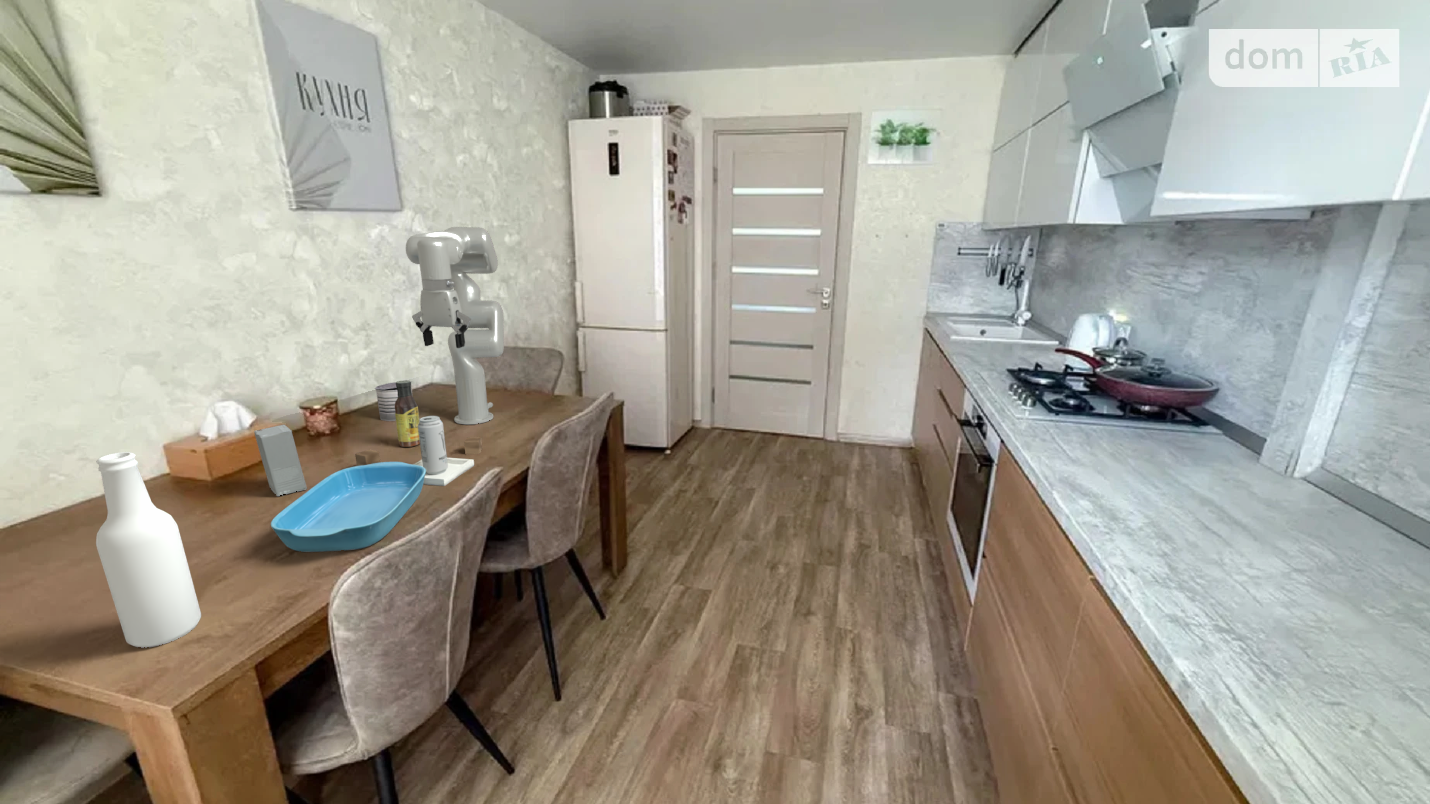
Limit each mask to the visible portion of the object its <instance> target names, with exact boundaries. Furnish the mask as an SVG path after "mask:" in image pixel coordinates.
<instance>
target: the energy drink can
mask: <svg viewBox="0 0 1430 804" xmlns="http://www.w3.org/2000/svg"><path fill="white" fill-rule="evenodd" d="M440 418H441V417H440V416H438V415H428V416H423V417H421V418H420V417H419V424H418V433H419V441H420V444H419V447H420V454H421V460H422V463H423V467H424V468H425V469H426V474H428V475H437V474H441V473H444V472H445V471H446V469H447V468H448V462H447V458H448V455H447V447H446V438H445V431H444V429H445V428H444V423H443V421H442V420H441V419H440Z"/></svg>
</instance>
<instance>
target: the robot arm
mask: <svg viewBox="0 0 1430 804" xmlns="http://www.w3.org/2000/svg"><path fill="white" fill-rule="evenodd" d="M405 254H406V256H407V259H408V260H409V261H410V262H412V264H416V265H419V269H420V278H421V285H422V286H421V287H422V289H421V291H420V300H419V301H420V311H418V312H416V313H415V314H413V315H412V316H411V318H412V320H413V322H414V323H415V325H416V327H417V328H418V329H419V331H420V333H422V337H423V343H424V346H425V347H429V346H432V345H434V337H433V331H432V330H431V329H432V328H433V327H437V328H438V327H439V328H452V330H454V331H453V332H451V333H450V334H449V335H448V337H447V344H448V349H449V353H450V356H451V361H452V365H453V372H454V381H455V382H454V383H455V384H454V385H455V393H456V400H457V409H458V411H457V412H458V414H457V415H455V417H454V418H453V419H454V422H455V423H457V424H458V425H459V424H460V425H478V423H479V424H484V423H487V422H490V421H491V420H493V418H494V414H493V413H492V412H490V411H489V409H491V408H492V407H493V406H494V404H493V402H491V401H490V402H488V398H487V397H488V395H487V387H486V376H485V369H484V367H483V365H482V364H481V363H480V362H479V361H478V359H479V358H497V357H498V358H499V357H501V356H502V355H503V353H504V350H505V348H504V347H505V331H504V330H505V321H504V312H503V307H502V305H501V304H500V302H498V301H495V300H489V299H487V300H484V299H483V300H481V288H480V286H479V285H478V283H476V281H475V280H473V279H472V278H471V277H470V276H469V275H468V274H473V275H474V274H477V275H478V274H481V275H482V274H483V275H484V274H486V275H488V274H489V275H490V274H493V273H495V272H496V271H497V270H498V265H499V263H498V260H499V259H498V257H497V256H498V255H497V253H496V250H495V246H494V243H493V240H492V237H491V236H490V233H489V232H488V231H487V230H486V229H485V228H483V227H479V226H477V227H476V226H475V227H473V226H471V227H469V226H453V227H449V228H447V229H444V230H438V231H431V232H425V233H416V234H413V235H411V236H409V237H408V239H407V240H406V243H405ZM489 420H490V421H489Z"/></svg>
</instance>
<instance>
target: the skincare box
mask: <svg viewBox="0 0 1430 804" xmlns="http://www.w3.org/2000/svg"><path fill="white" fill-rule="evenodd" d="M253 432H254V436H255V440H256V444H257V447H258V452H259V454H260V458H261V461H262V465H263V468H264V472H265V474H266V475H265V476H266V478H267V482H268V486H269V489H270V488H271V489H270V490H271V491H272V493H274V495H275V494H276V495H275V496H276V497H281V496H280V495H282V496H284V495H283V494H286V495H289V494H292V493H297V492H301V491H305V490H307V489H308V487H307V483H306V479H305V477H304V473H303V469H302V465H301V462H300V458H299V454H298V450H297V447H296V443H295V439H294V436H293V435H294V434H293V431H292V429H291V428H289V427H288V426H287V425H286V424H281V425H276V426H270V427H267V428H266V427H265V428H262V429H257V430H256V429H255V430H254V431H253ZM296 491H297V492H296Z"/></svg>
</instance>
